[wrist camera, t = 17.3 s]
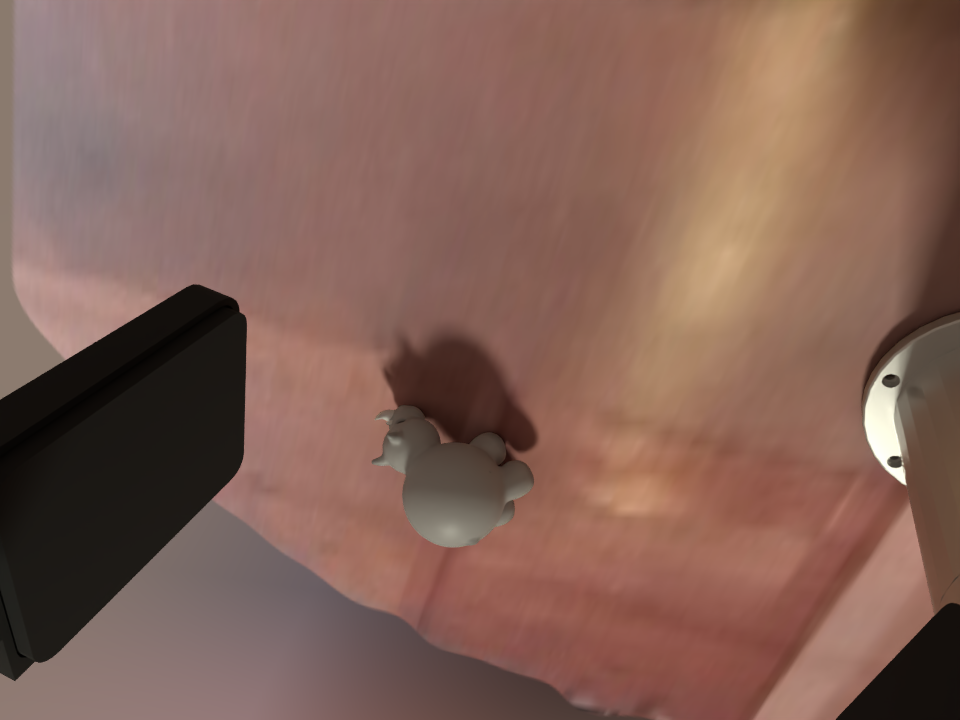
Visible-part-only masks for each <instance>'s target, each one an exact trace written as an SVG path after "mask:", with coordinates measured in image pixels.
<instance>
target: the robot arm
mask: <svg viewBox="0 0 960 720" xmlns="http://www.w3.org/2000/svg"><path fill="white" fill-rule="evenodd" d="M246 339H247V321H246V317H245V315H243V314H242V313H240V312H239V305H238V303H237V301H236V300H234V299H233V298H231V297H228V296H226V295H223V294H221V293H218V292H216V291H214V290H211V289H209V288H206V287H204V286H201V285H194V284H193V285H191V286H188V287H186V288H185V289H183V290H181V291H180V292H178V293H176V294H175V295H173V296H171V297H170V298H168V299H166V300H165V301H163V302H161V303H160V304H158V305H156V306H155V307H153V308H151V309H150V310H148V311H146V312H145V313H143V314H141V315H140V316H138V317H136V318H135V319H133V320H132V321H130V322H128V323H127V324H125V325H123V326H122V327H120V328H118V329H117V330H115V331H113V332H112V333H110V334H108V335H107V336H105V337H103V338H102V339H100V340H98V341H97V342H95V343H93V344H92V345H90V346H88V347H87V348H85V349H83V350H82V351H80V352H79V353H77V354H75V355H74V356H72V357H70V358H69V359H67V360H65V361H64V362H62V363H60V364H59V365H57V366H55V367H54V368H52V369H51V370H49V371H47V372H45V373H44V374H42V375H40V376H39V377H37V378H36V379H34V380H32V381H30V382H29V383H27V384H26V385H24V386H22V387H21V388H19V389H17V390H16V391H14V392H12V393H11V394H9V395H7V396H6V397H4V398H2V399H1V400H0V673H1V674H3V675H5V676H7V677H8V678H10V679H12V680H14V681H15V680H16V679H18V678H19V677H20V676H21V674H23V673H24V672H25V671H26V670H27V669H28V668H29V667H30V666H31V665H32V664H33V663H34V662H39V663H41V662H45V661H47V660H49V659H50V658H52V657H53V656H54V655H56V654H57V653H58V652H59V651H60V650H61V649H62V648H63V647H64V646H65V645H66V644H67V643H68V642H69V641H70V640H71V639H72V638H73V637H74V636H75V635H76V634H77V633H78V632H79V631H80V630H81V629H82V628H83V627H84V626H85V625H86V624H87V623H88V622H89V621H90V620H91V619H92V618H93V617H94V616H95V615H96V614H97V613H98V612H99V611H100V610H101V609H102V608H103V607H104V606H105V605H106V604H107V603H108V602H109V601H110V600H111V599H112V598H113V597H114V596H115V595H116V594H117V593H118V592H119V591H120V590H121V589H122V588H123V587H124V586H125V585H126V584H127V583H128V582H129V581H130V580H131V579H132V578H133V577H134V576H135V575H136V574H137V573H138V572H139V571H140V570H141V569H142V568H143V567H144V566H145V565H146V564H147V563H148V562H149V561H150V560H151V559H152V558H153V557H154V556H155V555H156V554H157V553H158V552H159V551H160V550H161V549H162V548H163V547H164V546H165V545H166V544H167V543H168V542H169V541H170V540H171V539H172V538H173V537H174V536H175V535H176V534H177V533H178V532H179V531H180V530H181V529H182V528H183V527H184V526H185V525H186V524H187V523H188V522H189V521H190V520H191V519H192V518H193V517H194V516H195V515H196V514H197V513H198V512H199V511H200V510H201V509H202V508H203V507H204V506H205V505H206V504H207V503H208V502H209V501H210V500H211V499H212V498H213V497H214V496H215V495H216V494H217V493H218V492H219V491H220V490H221V489H222V488H223V487H224V486H225V485H226V484H227V483H228V482H229V481H230V480H231V479H232V478H233V477H234V476H235V474H236V473H237V471H238V470H239V468H240V466H241V463H242V460H243V455H244V423H245V381H246ZM889 374H893V375H891V376H886V375H889ZM861 410H862V423H863V428H864V433H865V437H866V441H867V443H868V445H869V447H870V449H871V451H872V453H873V455H874V457H875V458H876V459H877V461H878V462H879V463H880V465H881V466H882V467H883V468H884V469H885V470H886V471H887V472H888V473H889V474H890V475H892V476H893V477H894V478H895V479H896V480H898V481H899V482H900V483H902V484H903V485H905V486H907V490H908V495H909V500H910V504H911V509H912V514H913V518H914V523H915V528H916V532H917V537H918V542H919V546H920V551H921V556H922V560H923V565H924V570H925V574H926V579H927V584H928V588H929V593H930V598H931V602H932V607H933V612H934V617H933V618H932V619H931V620H930V621H929V622H928V623H927V624H926V625H925V626H924V627H923V628H922V629H921V630H920V631H919V632H918V634H917V635H916V636H915V637H914V638H913V639H912V640H911V641H910V642H909V643H908V644H907V645H906V646H905V647H904V648H903V649H902V650H901V651H900V652H899V653H898V654H897V656H896V657H895V658H894V659H893V660H892V661H891V662H890V663H889V664H888V665H887V666H886V667H885V668H884V669H883V670H882V671H881V672H880V673H879V674H878V675H877V676H876V678H875V679H874V680H873V681H872V682H871V683H870V684H869V685H868V686H867V687H866V688H865V689H864V690H863V691H862V692H861V693H860V694H859V695H858V696H857V697H856V698H855V700H854V701H853V702H852V703H851V704H850V705H849V706H848V707H847V708H846V709H845V710H844V711H843V712H842V713H841V714H840V715H839V716H838V717H837V719H836V720H960V312H959V313H955V314H951V315H948V316H944V317H942V318H940V319H938V320H935V321H933V322H931V323H929V324H926V325H924V326H922V327H920V328H919V329H917V330H915V331H914V332H912V333H911V334H909V335H908V336H906V337H905V338H903V339H902V340H900V341H899V342H898V343H897V344H896V345H895V346H894V347H893V348H892V349H890V350H889V351H888V352H887V353H886V354H885V355H884V356H883V358H882V359H881V360H880V362H879V363H878V364H877V366H876V367H875V368H874V370H873V371H872V373H871V375H870V378H869V380H868V382H867V384H866V387H865V389H864V394H863V400H862V405H861Z"/></svg>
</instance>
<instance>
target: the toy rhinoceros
mask: <svg viewBox="0 0 960 720" xmlns="http://www.w3.org/2000/svg"><path fill="white" fill-rule="evenodd" d="M378 419H384V420H386V421H388V422H386V424H387V425H389V429H390V430H389V431H388V433H387V435H386V436H385V438H384V441H383V454H382V456H381V457H378V458H376V459H374V460H373V461H372V464H374V465H379V466H385V465H390V466H391V467H392V468H394V469H395V470H397V471H399V472H401V473H404V474H405V475H406V478H405V481H404V485H403V493H402V498H403V506H404V510H405V513H406V516H407V518H408V520H409V522H410V523H411V525H412V526H413V528H414V529H415V530H416V531H417V532H418V533H419V534H420V535H421V536H422V537H424V538H425V539H427V540H428V541H430V542H432V543H434V544H437V545H440V546H445V547H463V546H467V545H475V544H477V543H478V542H479V540H481V539H482V538H484V537H485V536H486V535H488V534H489V533H490V532H491V531H492V530H493V528H494V527H497V526H501V525H504V524H506V523H508V522H509V521H510V520H511V519H512V518H513V516H514V512H515V506H514V501H513V500H514V499H517V498H520V497H522V496H524V495H525V494H527V493H528V492H529V491H530V490H531V489H532V487H533V485H534V478H533V474H532V472H531V470H530V468H529V467H528V466H527V465H526V464H525V463H524V462H522V461H518V460H513V461H509V462H507V463H506V464H504V465H503V466H498V465H500V464H501V463H502V462H503V461H504V460H505V457H506V448H505V444H504V442H503V440H502V439H501V437H500V436H498V435H497V434H494V433H490V432H487V433H483V434H480V435H479V436H477V437H476V438H474V439H473V440H472V441H471V443H470V444H465V443H459V442H451V443H444V444H441V442H440V436H439V434H438V431H437V430H436V428H435V427H434V426H433V425H432V424H431V423H430V422H428V421H426V420H425V416H424V414H423V413H422V411H421V410H420V409H418V408H417V407H414V406H407V405H402V406H399V407H398V408H397V409H396V410H385V411H382V412H380V413H379V414H378V415H377V416H376V418H375V420H378Z"/></svg>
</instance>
